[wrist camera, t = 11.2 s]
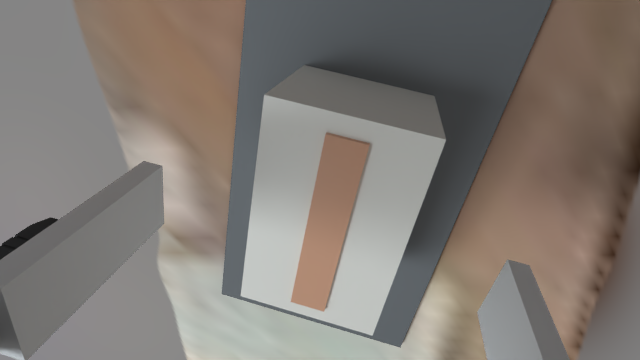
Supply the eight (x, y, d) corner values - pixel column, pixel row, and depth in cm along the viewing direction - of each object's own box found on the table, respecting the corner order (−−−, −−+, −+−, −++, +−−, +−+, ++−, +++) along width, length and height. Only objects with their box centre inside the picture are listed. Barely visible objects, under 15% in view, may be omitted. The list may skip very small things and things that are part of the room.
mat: (259, -121, 16) (256, -123, 16) (574, -60, 15) (578, -61, 14) (224, 289, 27) (221, 293, 27) (400, 342, 26) (400, 347, 26)
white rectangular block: (380, 255, 23) (372, 339, 17) (277, 227, 23) (239, 298, 18) (434, 96, 18) (446, 141, 13) (303, 65, 19) (262, 95, 13)
